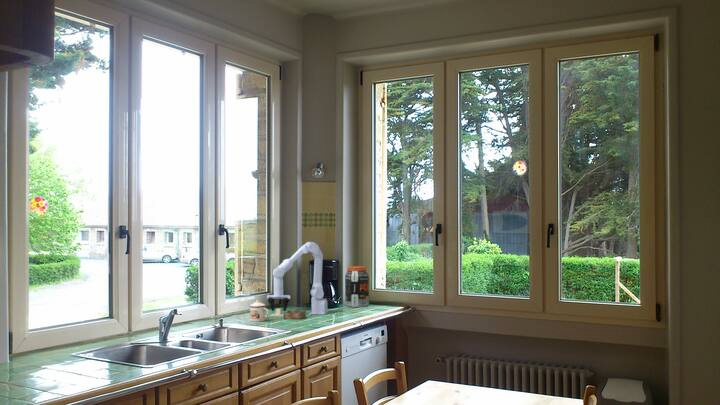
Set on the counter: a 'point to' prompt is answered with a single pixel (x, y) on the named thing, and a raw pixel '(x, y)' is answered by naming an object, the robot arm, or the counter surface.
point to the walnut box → (295, 314)
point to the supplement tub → (357, 287)
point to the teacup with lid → (258, 312)
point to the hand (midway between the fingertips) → (278, 310)
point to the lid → (278, 313)
